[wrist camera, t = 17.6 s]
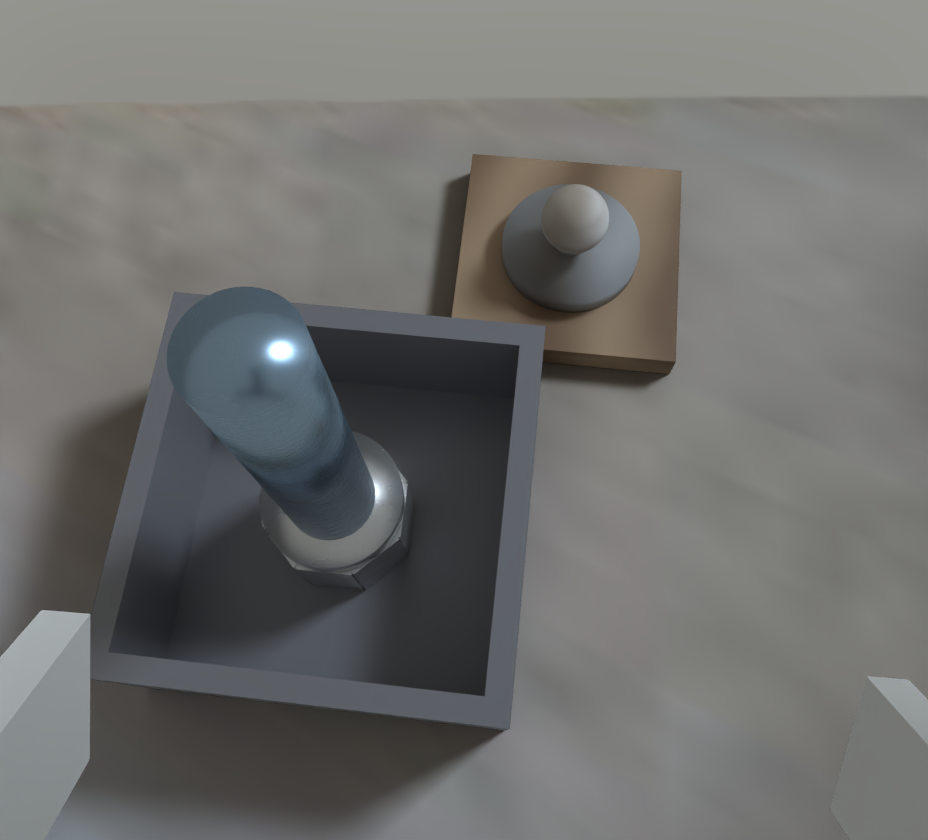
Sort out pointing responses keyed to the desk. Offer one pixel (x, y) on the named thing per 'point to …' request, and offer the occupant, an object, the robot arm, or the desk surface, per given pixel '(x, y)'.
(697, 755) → the desk surface
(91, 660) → the bin
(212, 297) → the strut
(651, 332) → the stud base
